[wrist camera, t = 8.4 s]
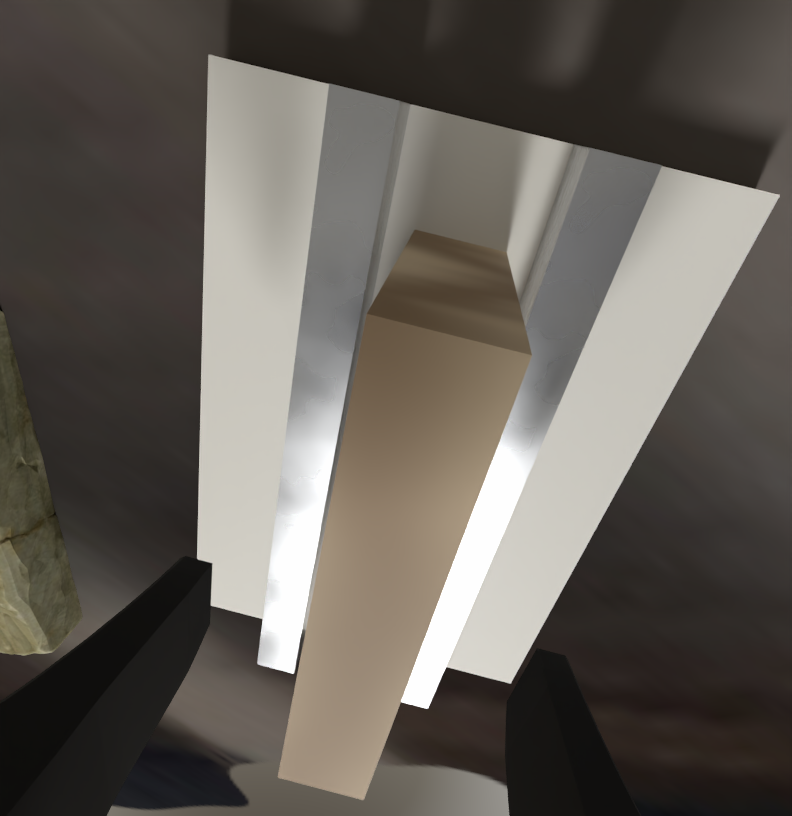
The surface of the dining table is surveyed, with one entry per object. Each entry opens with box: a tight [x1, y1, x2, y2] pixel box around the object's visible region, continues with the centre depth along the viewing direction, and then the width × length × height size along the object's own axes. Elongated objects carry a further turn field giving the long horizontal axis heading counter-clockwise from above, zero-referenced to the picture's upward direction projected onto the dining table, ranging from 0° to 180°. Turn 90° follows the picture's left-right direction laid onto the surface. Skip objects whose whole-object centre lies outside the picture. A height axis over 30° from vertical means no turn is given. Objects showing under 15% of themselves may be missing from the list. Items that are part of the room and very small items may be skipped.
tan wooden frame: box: [278, 230, 532, 800], centre depth 14 cm, size 3×14×7 cm, turn 168°
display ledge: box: [197, 54, 780, 709], centre depth 17 cm, size 14×20×3 cm
